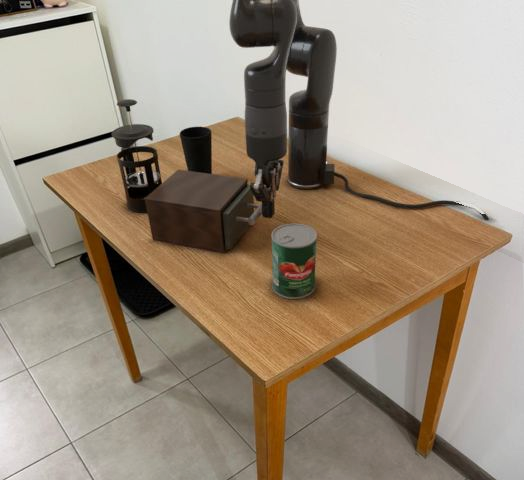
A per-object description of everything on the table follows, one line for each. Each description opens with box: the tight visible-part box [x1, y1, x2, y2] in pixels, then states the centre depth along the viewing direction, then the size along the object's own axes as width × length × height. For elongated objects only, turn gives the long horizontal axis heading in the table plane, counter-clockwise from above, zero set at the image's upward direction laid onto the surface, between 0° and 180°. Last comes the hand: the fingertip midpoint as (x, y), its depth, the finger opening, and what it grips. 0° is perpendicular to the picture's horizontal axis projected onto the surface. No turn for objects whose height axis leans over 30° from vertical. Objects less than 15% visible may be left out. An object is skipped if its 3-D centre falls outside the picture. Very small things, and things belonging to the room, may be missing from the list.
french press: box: [111, 98, 163, 214], centre depth 113 cm, size 12×9×23 cm
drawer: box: [222, 183, 262, 250], centre depth 106 cm, size 20×13×8 cm
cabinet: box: [144, 169, 249, 254], centre depth 107 cm, size 17×15×10 cm
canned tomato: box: [270, 223, 318, 300], centre depth 90 cm, size 8×8×11 cm
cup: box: [179, 126, 213, 174], centre depth 125 cm, size 8×8×12 cm
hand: (268, 215), depth 102 cm, fingers closed
